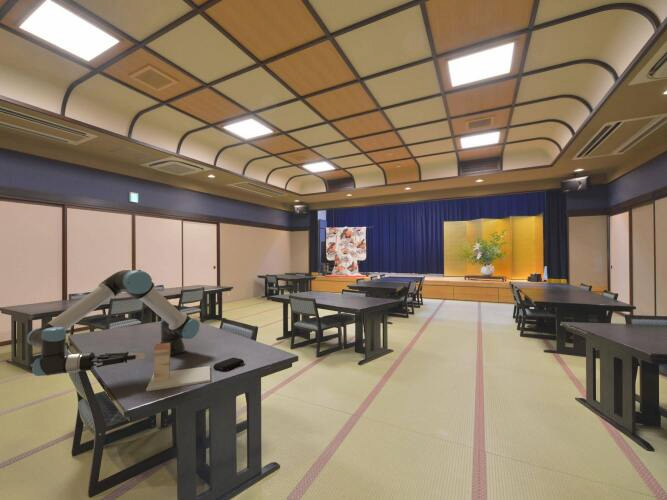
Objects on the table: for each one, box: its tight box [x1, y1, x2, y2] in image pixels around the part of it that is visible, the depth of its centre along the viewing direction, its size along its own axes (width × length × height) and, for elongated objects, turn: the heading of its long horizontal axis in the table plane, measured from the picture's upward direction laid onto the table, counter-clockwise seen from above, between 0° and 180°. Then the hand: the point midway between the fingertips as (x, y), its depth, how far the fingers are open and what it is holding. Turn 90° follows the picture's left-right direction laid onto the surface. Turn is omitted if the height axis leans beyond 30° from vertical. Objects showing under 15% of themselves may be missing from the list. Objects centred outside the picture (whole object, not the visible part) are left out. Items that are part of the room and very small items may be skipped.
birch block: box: [153, 343, 171, 382], centre depth 144 cm, size 6×6×16 cm
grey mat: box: [145, 365, 211, 392], centre depth 147 cm, size 26×20×1 cm
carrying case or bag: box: [212, 357, 245, 372], centre depth 163 cm, size 11×3×15 cm
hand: (144, 355), depth 141 cm, fingers closed
